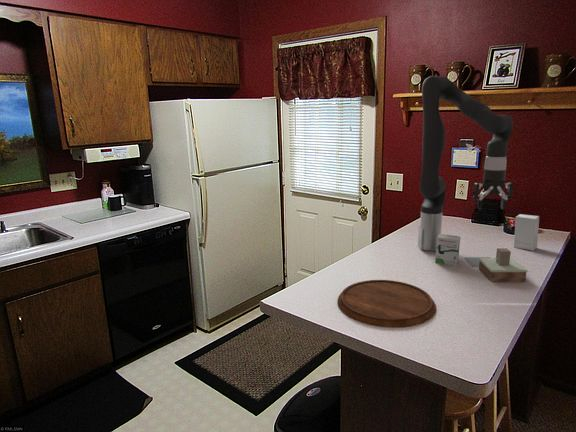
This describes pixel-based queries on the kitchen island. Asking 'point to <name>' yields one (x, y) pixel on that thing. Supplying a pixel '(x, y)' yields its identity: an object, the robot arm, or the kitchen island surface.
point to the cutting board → (386, 303)
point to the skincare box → (526, 232)
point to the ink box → (447, 249)
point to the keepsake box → (502, 275)
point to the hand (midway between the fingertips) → (491, 209)
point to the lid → (502, 262)
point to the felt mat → (473, 260)
